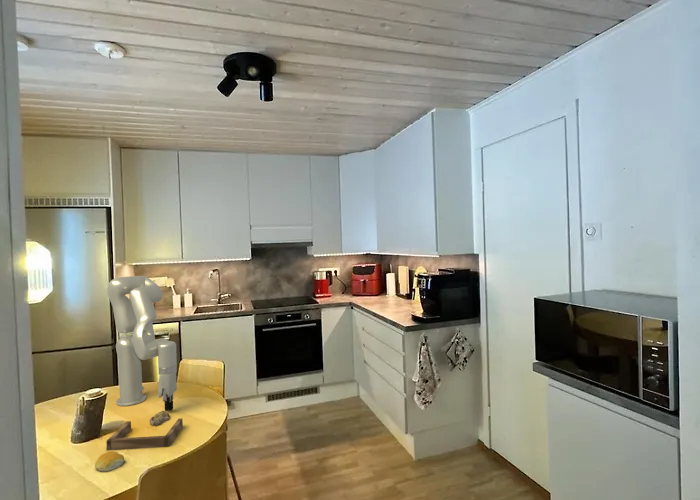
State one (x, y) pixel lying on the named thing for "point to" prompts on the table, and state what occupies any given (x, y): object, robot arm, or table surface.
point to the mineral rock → (159, 418)
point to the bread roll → (109, 461)
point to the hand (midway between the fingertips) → (169, 409)
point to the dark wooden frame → (141, 438)
